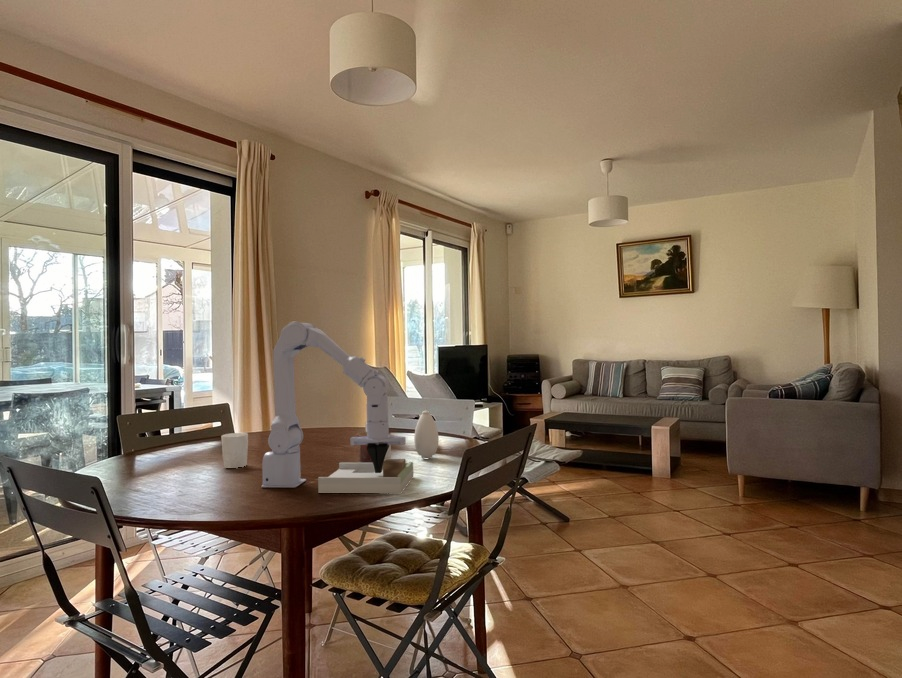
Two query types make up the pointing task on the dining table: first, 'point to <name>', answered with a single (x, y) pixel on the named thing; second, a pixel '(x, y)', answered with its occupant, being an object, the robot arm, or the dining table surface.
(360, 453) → the mug
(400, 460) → the block
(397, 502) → the dining table surface
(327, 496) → the dining table surface
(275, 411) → the robot arm
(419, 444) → the sauce bottle
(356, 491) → the tray
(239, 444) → the white cup
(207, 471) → the dining table surface
